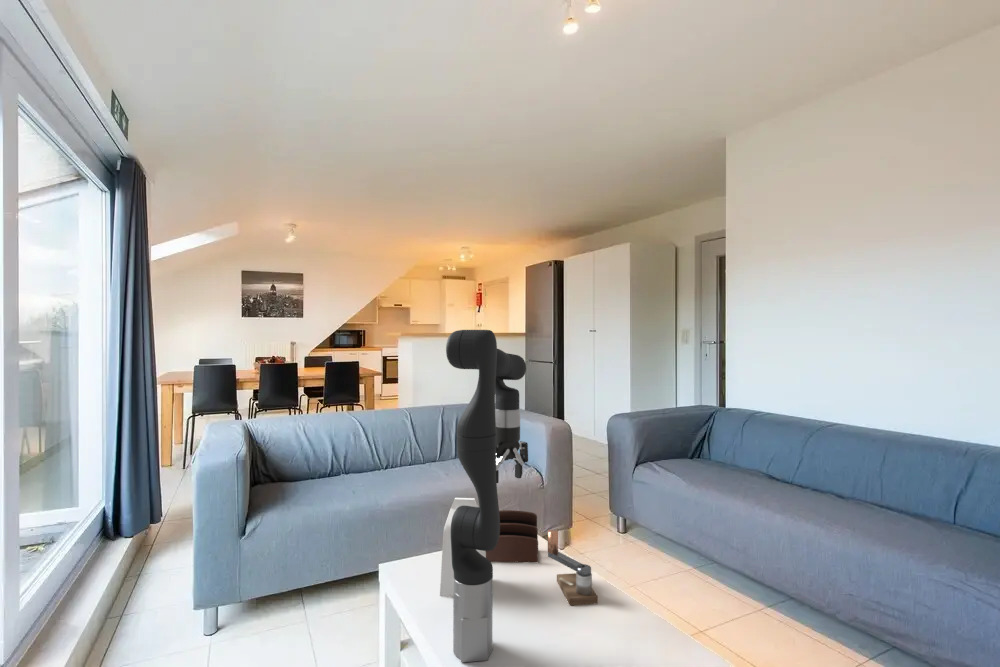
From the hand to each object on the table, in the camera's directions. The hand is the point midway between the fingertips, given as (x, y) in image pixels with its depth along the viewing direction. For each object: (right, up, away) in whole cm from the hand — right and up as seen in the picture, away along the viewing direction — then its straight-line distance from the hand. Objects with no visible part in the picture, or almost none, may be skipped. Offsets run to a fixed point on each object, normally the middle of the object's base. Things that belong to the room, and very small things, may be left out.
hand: (507, 480), depth 146 cm
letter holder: (+1, -33, +23) cm, 40 cm away
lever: (+18, -25, +1) cm, 31 cm away
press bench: (+20, -32, 0) cm, 38 cm away
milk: (-13, -32, +2) cm, 35 cm away
